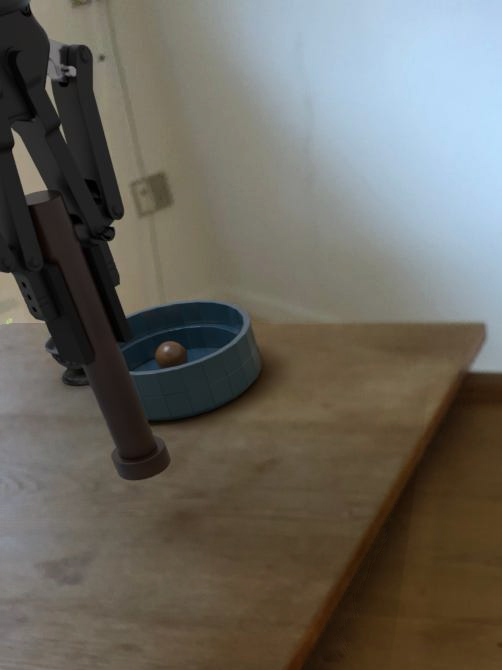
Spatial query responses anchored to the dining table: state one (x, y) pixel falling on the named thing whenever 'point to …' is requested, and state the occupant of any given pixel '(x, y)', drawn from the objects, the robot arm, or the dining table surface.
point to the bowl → (191, 357)
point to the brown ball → (171, 355)
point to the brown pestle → (98, 342)
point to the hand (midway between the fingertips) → (97, 348)
